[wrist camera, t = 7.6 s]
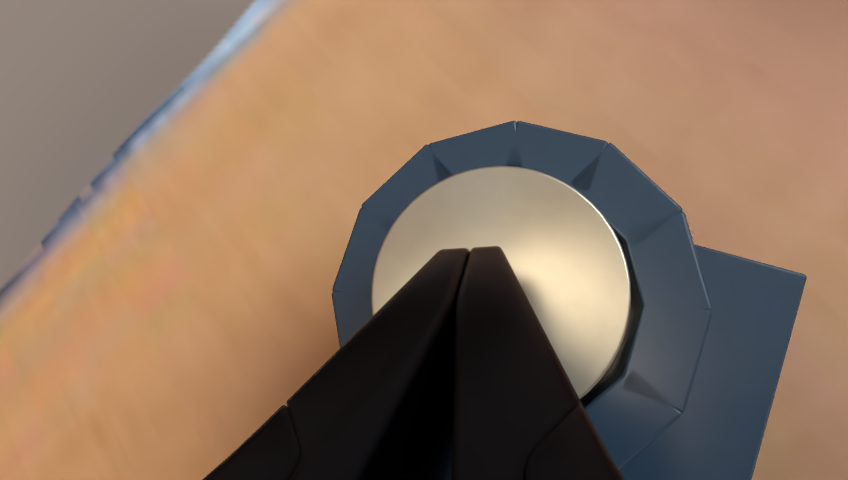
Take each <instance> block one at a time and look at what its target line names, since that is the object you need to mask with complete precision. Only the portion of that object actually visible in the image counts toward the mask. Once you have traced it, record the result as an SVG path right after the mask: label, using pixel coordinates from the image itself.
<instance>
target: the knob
mask: <svg viewBox="0 0 848 480" xmlns="http://www.w3.org/2000/svg"><path fill="white" fill-rule="evenodd" d="M487 246H499V247H501V249H502V250H503V252H504V254H505V256H506V258H507V259H508V261H509V263H510V265H511V267H512V269H513V271H514V273H515V275H516V277H517V279H518V281H519V283H520V285H521V287H522V288H523V290H524V292H525V294H526V296H527V298H528V300H529V302H530V304H531V306H532V308H533V310H534V312H535V314H536V316H537V317H538V319H539V321H540V323H541V325H542V327H543V329H544V331H545V333H546V335H547V337H548V339H549V341H550V343H551V345H552V346H553V348H554V350H555V352H556V354H557V356H558V358H559V360H560V362H561V364H562V366H563V368H564V370H565V372H566V374H567V375H568V377H569V379H570V381H571V383H572V385H573V387H574V389H575V391H576V393H577V395H578V397H579V399H581V398H582V397H583V396H585V395H586V394H587V393H588V392H589V391H590V390H591V389H592V388H593V387H594V386H595V385H596V384H597V383H598V382H599V381H600V380H601V378H602V377H603V376H604V374H605V373H606V372H607V370H608V369H609V368H610V366H611V365H612V363H613V361H614V359H615V357H616V355H617V354H618V352H619V350H620V347H621V345H622V342H623V339H624V337H625V334H626V330H627V326H628V321H629V317H630V307H631V283H630V276H629V270H628V265H627V261H626V258H625V255H624V252H623V249H622V246H621V244H620V242H619V240H618V238H617V236H616V234H615V232H614V230H613V229H612V227H611V226H610V224H609V223H608V221H607V220H606V218H605V217H604V215H603V214H602V213H601V212H600V211H599V210H598V209H597V208H596V206H595V205H594V204H593V203H592V202H591V201H590V200H588V199H587V198H586V197H585V196H584V195H583V194H581V193H580V192H579V191H577V190H576V189H574V188H573V187H571V186H570V185H568V184H567V183H565V182H563V181H561V180H559V179H557V178H555V177H553V176H551V175H548V174H545V173H542V172H539V171H536V170H532V169H527V168H521V167H513V166H490V167H481V168H476V169H471V170H467V171H464V172H461V173H458V174H455V175H452V176H450V177H448V178H446V179H444V180H442V181H440V182H438V183H436V184H435V185H433V186H431V187H430V188H428V189H427V190H425V191H424V192H423V193H422V194H420V195H419V196H418V197H417V198H415V199H414V200H413V201H412V202H411V203H410V204H409V205H408V206H407V207H406V208H405V209H404V210H403V212H402V213H401V214H400V215H399V217H398V218H397V219H396V221H395V222H394V223H393V225H392V226H391V228H390V230H389V232H388V234H387V235H386V237H385V239H384V241H383V244H382V246H381V248H380V251H379V253H378V257H377V260H376V264H375V267H374V273H373V279H372V292H371V304H372V313H373V315H374V314H375V313H376V312H377V311H378V310H379V309H380V308H381V307H382V306H383V305H384V304H385V303H386V302H387V301H388V300H389V299H390V298H391V297H392V296H393V295H394V294H396V293H397V292H398V291H399V290H400V289H401V288H402V287H403V286H404V285H405V284H406V283H407V282H408V281H409V280H410V279H411V278H412V277H413V276H414V275H415V274H416V273H417V272H418V271H419V270H420V269H421V268H422V267H423V266H424V265H425V264H426V263H427V262H428V261H429V260H430V259H431V258H432V257H433V256H434V255H435V254H436V253H437V252H438V251H440V250H442V249H454V248H467V249H469V251H471V249H472V248H475V247H487Z"/></svg>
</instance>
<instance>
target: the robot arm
mask: <svg viewBox="0 0 848 480" xmlns="http://www.w3.org/2000/svg"><path fill="white" fill-rule="evenodd" d="M203 480H626V479H625V478H624V476H623V475H622V473H621V472H620V470H619V469H618V467H617V466H616V464H615V462H614V460H613V459H612V457H611V455H610V453H609V452H608V450H607V448H606V446H605V445H604V443H603V441H602V439H601V438H600V436H599V434H598V432H597V431H596V429H595V427H594V425H593V423H592V421H591V419H590V417H589V415H588V413H587V411H586V409H585V408H584V407H583V406H582V403H581V401H580V399H579V397H578V395H577V393H576V391H575V389H574V387H573V385H572V383H571V381H570V379H569V377H568V375H567V374H566V372H565V370H564V368H563V366H562V364H561V362H560V360H559V358H558V356H557V354H556V352H555V350H554V348H553V346H552V345H551V343H550V341H549V339H548V337H547V335H546V333H545V331H544V329H543V327H542V325H541V323H540V321H539V319H538V317H537V316H536V314H535V312H534V310H533V308H532V306H531V304H530V302H529V300H528V298H527V296H526V294H525V292H524V290H523V288H522V287H521V285H520V283H519V281H518V279H517V277H516V275H515V273H514V271H513V269H512V267H511V265H510V263H509V261H508V259H507V258H506V256H505V254H504V252H503V250H502V249H501V247H499V246H487V247H475V248H472V249H471V251H469V249H467V248H454V249H442V250H440V251H438V252H437V253H436V254H435V255H434V256H433V257H432V258H431V259H430V260H429V261H428V262H427V263H426V264H425V265H424V266H423V267H422V268H421V269H420V270H419V271H418V272H417V273H416V274H415V275H414V276H413V277H412V278H411V279H410V280H409V281H408V282H407V283H406V284H405V285H404V286H403V287H402V288H401V289H400V290H399V291H398V292H397V293H396V294H394V295H393V296H392V297H391V298H390V299H389V300H388V301H387V302H386V303H385V304H384V305H383V306H382V307H381V308H380V309H379V310H378V311H377V312H376V313H375V314H374V315H373V316H372V317H371V318H370V319H369V320H368V321H367V322H366V323H365V324H364V325H363V326H362V327H361V328H360V329H359V330H358V331H357V332H356V333H355V334H354V335H353V336H352V337H351V338H350V339H349V340H348V341H347V342H346V343H345V344H344V345H343V346H342V347H341V348H340V349H339V350H338V351H337V352H336V353H335V354H334V355H333V356H332V357H331V358H330V359H329V360H328V361H327V362H326V363H325V364H324V365H323V366H322V367H321V368H320V369H319V370H318V371H317V372H316V373H315V374H314V375H313V376H312V377H311V378H310V379H309V380H308V381H307V382H306V383H305V384H304V385H303V386H302V387H301V388H300V389H299V390H298V391H297V392H296V393H295V394H294V395H293V396H292V397H290V398H289V399H288V401H287V406H285V405H283V406H281V407H280V408H279V409H278V410H277V411H276V412H275V413H274V414H273V415H272V416H271V417H270V418H269V419H268V420H267V421H266V422H265V423H264V424H263V425H262V426H261V427H260V428H259V429H258V430H257V431H256V432H255V433H253V434H252V435H251V436H250V437H249V438H248V439H247V440H246V441H245V442H244V443H243V444H242V445H241V446H240V447H239V448H238V449H237V450H235V451H234V452H233V453H232V454H231V455H230V456H229V457H228V458H227V459H226V460H225V461H223V462H222V463H221V464H220V465H219V466H218V467H216V468H215V469H214V470H213V471H212V472H211V473H210V474H208V475H207V476H206V477H205V478H204V479H203Z"/></svg>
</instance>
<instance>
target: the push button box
mask: <svg viewBox="0 0 848 480" xmlns="http://www.w3.org/2000/svg"><path fill="white" fill-rule="evenodd" d="M490 166H513V167H521V168H527V169H532V170H536V171H539V172H542V173H545V174H548V175H551V176H553V177H555V178H557V179H559V180H561V181H563V182H565V183H567V184H568V185H570V186H571V187H573V188H574V189H576V190H577V191H579V192H580V193H581V194H583V195H584V196H585V197H586V198H587V199H588V200H590V201H591V202H592V203H593V204H594V205H595V206H596V208H597V209H598V210H599V211H600V212H601V213H602V214H603V215H604V217H605V218H606V220H607V221H608V223H609V224H610V226H611V227H612V229H613V230H614V232H615V234H616V236H617V238H618V240H619V242H620V244H621V246H622V249H623V252H624V255H625V258H626V261H627V265H628V270H629V276H630V283H631V307H630V317H629V321H628V326H627V330H626V334H625V337H624V339H623V342H622V345H621V347H620V350H619V352H618V354H617V355H616V357H615V359H614V361H613V363H612V365H611V366H610V368H609V369H608V370H607V372H606V373H605V374H604V376H603V377H602V378H601V380H600V381H599V382H598V383H597V384H596V385H595V386H594V387H593V388H592V389H591V390H590V391H589V392H588V393H587V394H586V395H585V396H583V397H582V398H581V399H580V401H581V403H582V406H583V407H584V408H585V409H586V411H587V413H588V415H589V417H590V419H591V421H592V423H593V425H594V427H595V429H596V431H597V432H598V434H599V436H600V438H601V439H602V441H603V443H604V445H605V446H606V448H607V450H608V452H609V453H610V455H611V457H612V459H613V460H614V462H615V464H616V466H617V467H618V469H619V470H620V472H621V473H622V475H623V476H624V478H625V479H626V480H751V479H752V475H753V472H754V468H755V464H756V461H757V457H758V453H759V450H760V446H761V442H762V439H763V435H764V431H765V428H766V424H767V420H768V417H769V413H770V410H771V406H772V402H773V399H774V395H775V391H776V388H777V384H778V380H779V377H780V373H781V369H782V366H783V362H784V358H785V355H786V351H787V348H788V344H789V340H790V337H791V333H792V329H793V326H794V322H795V318H796V315H797V311H798V307H799V304H800V300H801V296H802V293H803V289H804V285H805V282H806V275H804V274H801V273H797V272H794V271H790V270H786V269H783V268H779V267H775V266H772V265H768V264H764V263H760V262H757V261H753V260H749V259H746V258H742V257H738V256H735V255H731V254H727V253H724V252H720V251H716V250H713V249H709V248H705V247H701V246H698V245H694V243H693V240H692V236H691V233H690V229H689V226H688V223H687V219H686V216H685V214H684V212H682V208H681V207H680V206H679V205H678V204H677V203H676V202H675V201H674V200H672V199H671V198H670V197H669V196H668V195H667V194H666V193H665V192H664V191H663V190H662V189H661V188H659V187H658V186H657V185H656V184H655V183H654V182H653V181H652V180H651V179H650V178H649V177H648V176H647V175H645V174H644V173H643V172H642V171H641V170H640V169H639V168H638V167H637V166H636V165H635V164H634V163H632V162H631V161H630V160H629V159H628V158H627V157H626V156H625V155H624V154H623V153H622V152H621V151H619V150H618V149H617V148H616V147H615V146H614V145H613V144H611V143H609V144H608V143H607V142H606V141H603V140H598V139H594V138H590V137H586V136H581V135H577V134H573V133H569V132H564V131H560V130H556V129H552V128H547V127H543V126H539V125H535V124H530V123H526V122H522V121H518V122H517V123H516V121H511V122H507V123H503V124H500V125H496V126H492V127H489V128H485V129H481V130H478V131H474V132H470V133H467V134H463V135H459V136H456V137H452V138H448V139H445V140H441V141H437V142H434V143H430V144H429V145H425V146H424V147H423V148H422V149H421V150H420V151H419V152H418V153H417V154H415V155H414V156H413V157H412V158H411V159H410V160H409V161H408V162H407V163H406V164H405V165H404V166H403V167H402V168H401V169H399V170H398V171H397V172H396V173H395V174H394V175H393V176H392V177H391V178H390V179H389V180H388V181H387V182H386V183H385V184H383V185H382V186H381V187H380V188H379V189H378V190H377V191H376V192H375V193H374V194H373V195H372V196H371V197H370V198H369V199H367V200H366V201H365V202H364V203H363V204H362V208H361V209H360V211H359V214H358V217H357V220H356V222H355V225H354V228H353V231H352V234H351V237H350V240H349V243H348V245H347V248H346V251H345V254H344V257H343V260H342V263H341V266H340V269H339V271H338V274H337V277H336V280H335V283H334V286H333V293H332V299H333V305H334V312H335V318H336V325H337V331H338V337H339V344H340V348H341V347H342V346H343V345H344V344H345V343H346V342H347V341H348V340H349V339H350V338H351V337H352V336H353V335H354V334H355V333H356V332H357V331H358V330H359V329H360V328H361V327H362V326H363V325H364V324H365V323H366V322H367V321H368V320H369V319H370V318H371V317H372V316H373V313H372V304H371V292H372V279H373V273H374V267H375V264H376V260H377V257H378V253H379V251H380V248H381V246H382V244H383V241H384V239H385V237H386V235H387V234H388V232H389V230H390V228H391V226H392V225H393V223H394V222H395V221H396V219H397V218H398V217H399V215H400V214H401V213H402V212H403V210H404V209H405V208H406V207H407V206H408V205H409V204H410V203H411V202H412V201H413V200H414V199H415V198H417V197H418V196H419V195H420V194H422V193H423V192H424V191H425V190H427V189H428V188H430V187H431V186H433V185H435V184H436V183H438V182H440V181H442V180H444V179H446V178H448V177H450V176H452V175H455V174H458V173H461V172H464V171H467V170H471V169H476V168H481V167H490Z"/></svg>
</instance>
